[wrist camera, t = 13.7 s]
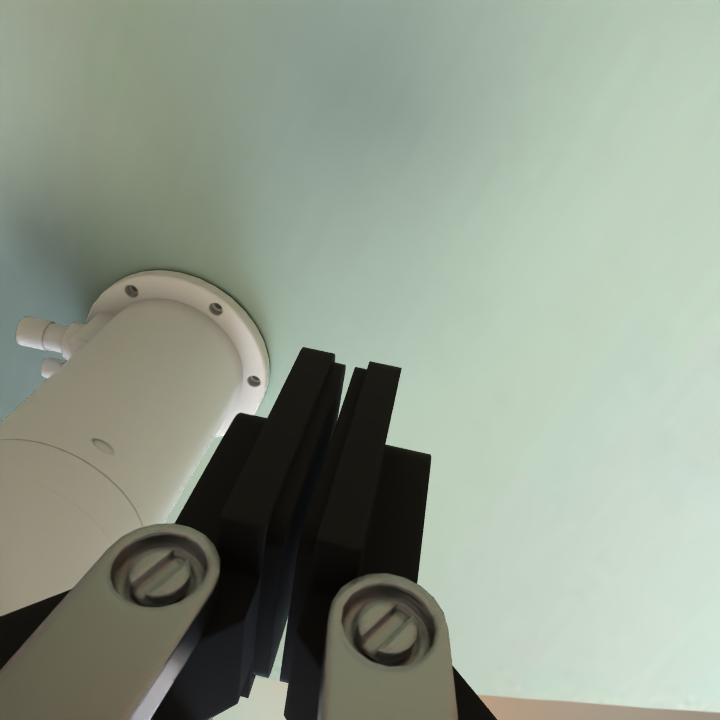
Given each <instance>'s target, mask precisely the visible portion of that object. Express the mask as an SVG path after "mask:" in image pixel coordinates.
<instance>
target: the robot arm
mask: <svg viewBox="0 0 720 720" xmlns="http://www.w3.org/2000/svg"><path fill="white" fill-rule="evenodd" d="M219 304H220V305H219ZM16 341H17V342H18V344H19V345H22V346H26V347H31V348H35V349H40V350H45V351H49V350H51V351H55V352H60V353H62V355H63V358H65V359H66V360H68V361H64V360H60V359H55V358H51V357H48V358H46V359H45V360H44V361H43V363H42V366H41V375H42V376H43V377H45V378H48V379H47V380H46V381H45V382H44V383H43V384H42V385H41V386H40V387H39V388H38V389H37V390H36V391H34V392H33V393H32V394H31V395H30V396H29V397H28V398H27V399H26V400H25V401H24V402H23V403H22V404H21V405H19V406H18V407H17V408H16V409H15V410H14V411H13V412H12V413H11V414H10V415H9V416H8V417H7V418H6V419H5V420H3V421H2V422H1V423H0V720H212V719H213V717H214V716H216V715H217V714H219V713H221V712H223V711H225V710H227V709H228V708H230V707H232V706H234V705H236V704H237V703H238V701H239V698H240V696H243V697H246V698H248V697H249V694H250V691H251V688H252V685H253V682H254V679H255V676H256V675H258V676H262V677H266V678H268V677H269V676H270V673H271V670H272V667H273V664H274V661H275V657H276V654H277V651H278V648H279V644H280V641H281V638H282V635H283V631H284V628H285V625H286V621H287V618H288V623H287V631H286V638H285V645H284V652H283V660H282V667H281V674H280V681H282V682H286V683H289V684H288V691H287V697H286V704H285V710H284V716H285V718H286V720H497V719H496V718H495V716H494V715H493V714H492V713H491V712H490V710H489V709H488V708H487V707H486V706H485V704H484V703H483V702H482V701H481V700H480V698H479V697H478V696H477V695H476V693H475V692H474V691H473V690H472V689H471V687H470V686H469V685H468V684H467V682H466V681H465V680H464V679H463V678H462V676H461V675H460V674H459V673H458V672H457V670H456V669H455V668H454V667H453V666H452V659H451V650H450V641H449V632H448V626H447V623H446V619H445V616H444V612H443V611H442V609H441V608H440V606H439V605H438V603H437V602H436V600H435V599H434V597H433V596H431V595H430V594H429V593H428V592H427V591H426V590H425V589H424V588H422V587H421V586H420V585H418V584H417V580H418V572H419V563H420V554H421V545H422V536H423V527H424V519H425V510H426V501H427V492H428V483H429V474H430V466H431V455H430V454H425V453H421V452H416V451H412V450H407V449H403V448H398V447H394V446H389V445H385V443H386V438H387V434H388V429H389V424H390V420H391V415H392V410H393V406H394V401H395V396H396V392H397V387H398V382H399V378H400V373H401V368H399V367H394V366H389V365H385V364H380V363H375V362H371V361H370V362H369V365H368V368H367V369H362V368H358V367H355V369H354V372H353V375H352V378H351V381H350V384H349V387H348V390H347V393H346V396H345V399H344V402H343V405H342V408H341V411H340V414H339V417H338V413H339V407H340V400H341V394H342V388H343V382H344V375H345V368H346V366H345V365H344V364H339V363H335V354H333V353H329V352H324V351H319V350H315V349H310V348H305V347H303V348H302V349H301V351H300V353H299V355H298V357H297V359H296V361H295V363H294V365H293V367H292V369H291V371H290V373H289V375H288V377H287V379H286V381H285V383H284V385H283V388H282V390H281V392H280V394H279V396H278V398H277V400H276V402H275V404H274V406H273V408H272V410H271V412H270V414H269V416H268V418H263V417H259V416H254V414H255V413H256V411H257V409H258V407H259V406H260V404H261V402H262V400H263V398H264V395H265V393H266V390H267V388H268V382H269V375H270V370H269V357H268V354H267V350H266V347H265V343H264V341H263V339H262V337H261V335H260V333H259V331H258V329H257V327H256V325H255V324H254V322H253V321H252V320H251V318H250V317H249V316H248V314H247V313H246V312H245V310H243V309H242V308H241V307H240V306H239V305H238V304H237V303H236V302H235V301H234V300H233V299H232V298H231V297H230V296H228V295H227V294H225V293H224V292H223V291H221V290H220V289H218V288H217V287H215V286H214V285H211V284H209V283H207V282H205V281H203V280H201V279H199V278H197V277H194V276H190V275H187V274H184V273H180V272H173V271H165V270H154V271H143V272H139V273H136V274H132V275H129V276H126V277H125V278H123V279H121V280H119V281H117V282H116V283H114V284H113V285H112V286H111V287H109V288H108V289H107V290H106V291H104V292H103V293H102V294H101V295H100V297H99V298H98V299H97V300H96V302H95V303H94V304H93V306H92V308H91V310H90V312H89V314H88V317H87V321H86V324H81V323H76V322H74V323H72V324H70V325H69V326H63V325H59V324H56V323H55V322H51V321H47V320H42V319H38V318H33V317H24V318H23V319H21V320H20V322H19V324H18V325H17V329H16ZM337 419H338V420H337ZM222 435H224V437H223V438H222V440H221V442H220V444H219V446H218V447H217V449H216V451H215V453H214V454H213V456H212V458H211V460H210V462H209V463H208V465H207V467H206V469H205V470H204V472H203V474H202V476H201V478H200V479H199V481H198V483H197V485H196V486H195V488H194V490H193V492H192V493H191V495H190V497H189V499H188V501H187V502H186V504H185V506H184V508H183V509H182V511H181V513H180V515H179V517H178V518H177V520H176V522H175V524H164V523H165V521H166V520H167V518H168V516H169V515H170V513H171V511H172V509H173V508H174V506H175V504H176V503H177V501H178V499H179V497H180V496H181V494H182V492H183V490H184V489H185V487H186V485H187V484H188V482H189V480H190V478H191V477H192V475H193V473H194V472H195V470H196V468H197V466H198V465H199V463H200V461H201V460H202V458H203V456H204V454H205V453H206V451H207V449H208V447H209V446H210V444H211V442H212V441H213V439H214V437H219V436H222ZM288 615H289V616H288Z"/></svg>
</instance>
